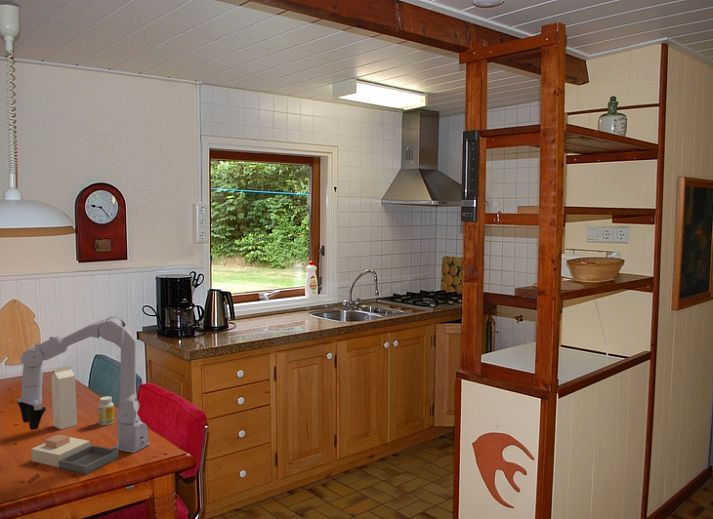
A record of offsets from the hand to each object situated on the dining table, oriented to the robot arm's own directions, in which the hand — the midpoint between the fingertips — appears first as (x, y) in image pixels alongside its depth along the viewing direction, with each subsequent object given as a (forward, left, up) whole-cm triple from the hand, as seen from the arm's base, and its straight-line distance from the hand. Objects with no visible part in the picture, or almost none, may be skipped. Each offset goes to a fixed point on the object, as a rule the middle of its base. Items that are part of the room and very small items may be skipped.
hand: (30, 425), depth 196 cm
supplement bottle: (0, -32, -10) cm, 33 cm away
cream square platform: (-10, -3, -10) cm, 15 cm away
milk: (+12, -24, -10) cm, 28 cm away
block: (-9, -3, -6) cm, 11 cm away
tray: (-22, -3, -10) cm, 24 cm away
